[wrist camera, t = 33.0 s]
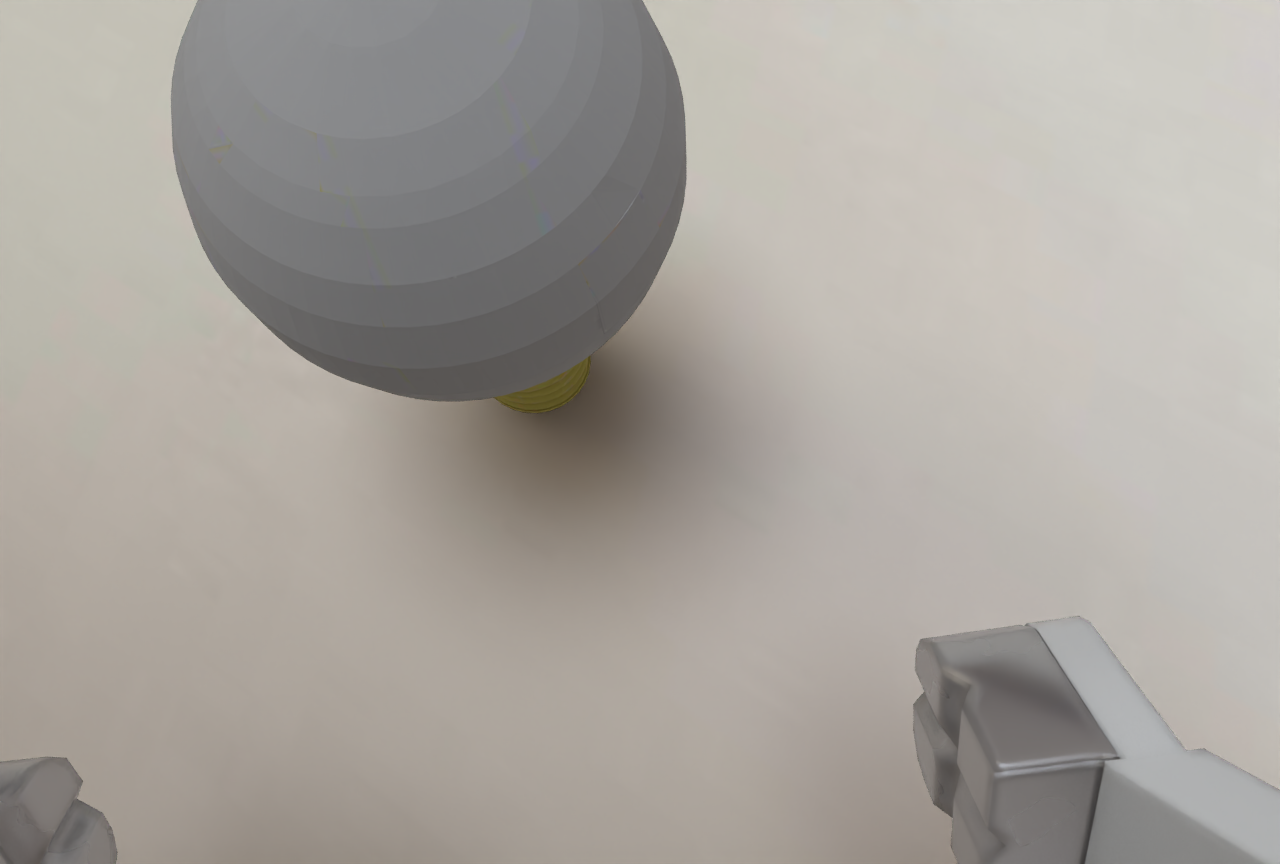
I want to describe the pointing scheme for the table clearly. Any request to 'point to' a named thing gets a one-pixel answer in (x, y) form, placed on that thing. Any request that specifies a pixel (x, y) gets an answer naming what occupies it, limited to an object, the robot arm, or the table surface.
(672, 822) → the table surface
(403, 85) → the light bulb
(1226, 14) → the table surface
